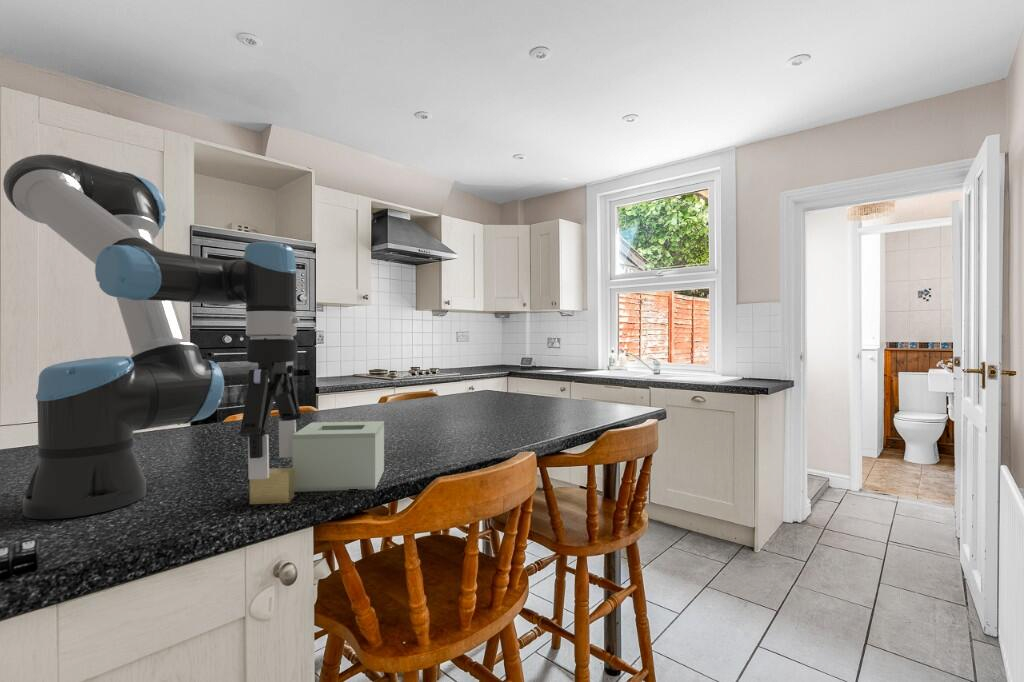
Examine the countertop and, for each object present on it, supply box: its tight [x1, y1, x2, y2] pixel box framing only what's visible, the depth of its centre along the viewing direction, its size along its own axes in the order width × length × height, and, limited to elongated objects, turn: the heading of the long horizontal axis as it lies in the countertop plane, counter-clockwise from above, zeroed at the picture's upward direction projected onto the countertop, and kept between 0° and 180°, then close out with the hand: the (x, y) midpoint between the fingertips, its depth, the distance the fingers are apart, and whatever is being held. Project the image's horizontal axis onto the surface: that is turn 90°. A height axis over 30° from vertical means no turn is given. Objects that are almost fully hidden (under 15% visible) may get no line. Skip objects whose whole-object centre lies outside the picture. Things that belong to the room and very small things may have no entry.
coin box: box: [292, 420, 385, 493], centre depth 93 cm, size 14×12×10 cm
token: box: [249, 467, 295, 505], centre depth 82 cm, size 6×3×5 cm, turn 97°
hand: (274, 467), depth 81 cm, fingers open, 13 cm apart
